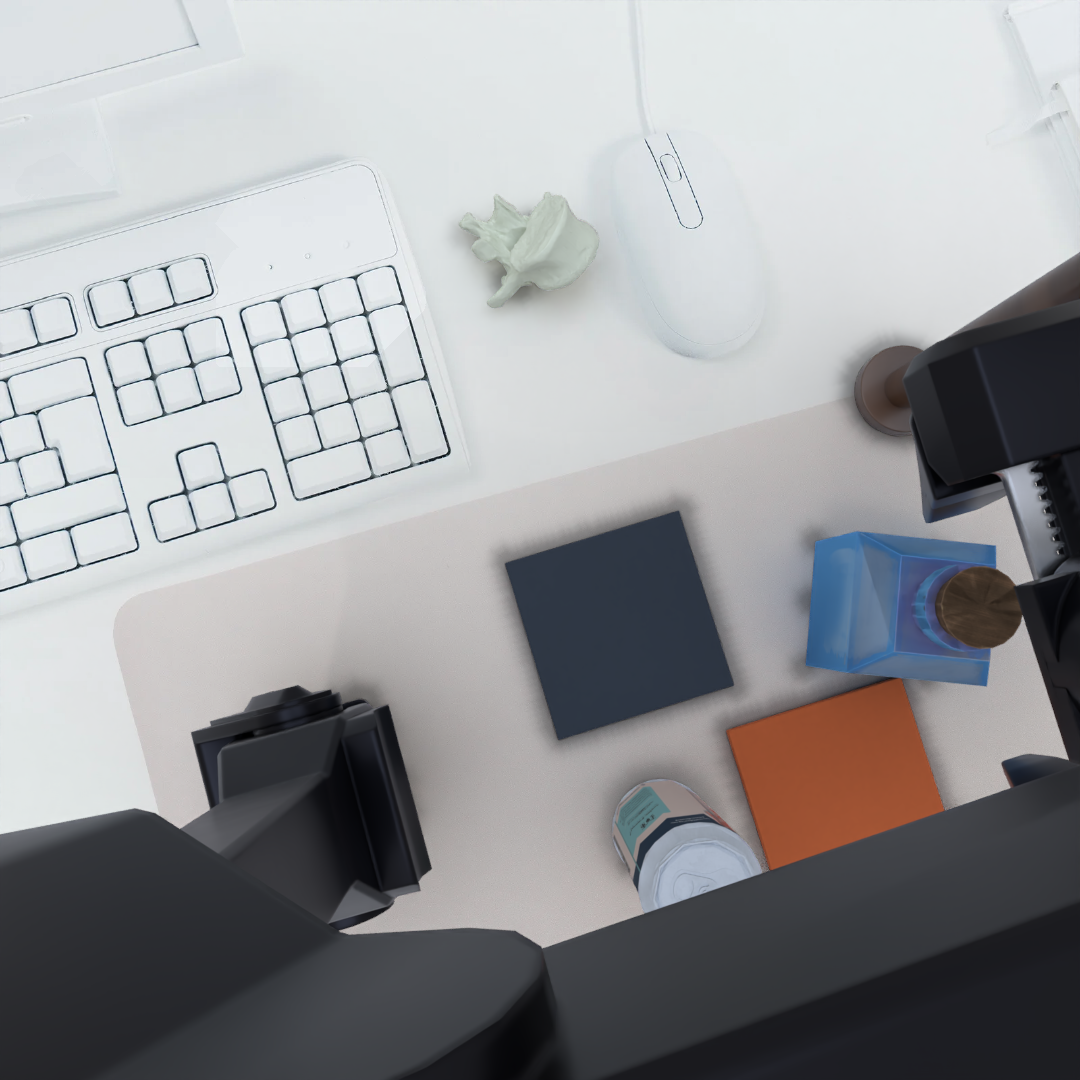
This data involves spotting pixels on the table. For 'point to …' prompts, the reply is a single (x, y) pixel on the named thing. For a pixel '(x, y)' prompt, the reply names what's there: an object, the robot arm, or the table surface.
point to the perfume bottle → (908, 607)
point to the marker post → (884, 372)
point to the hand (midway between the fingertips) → (975, 637)
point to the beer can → (677, 844)
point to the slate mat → (618, 624)
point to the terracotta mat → (834, 772)
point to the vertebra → (533, 245)
